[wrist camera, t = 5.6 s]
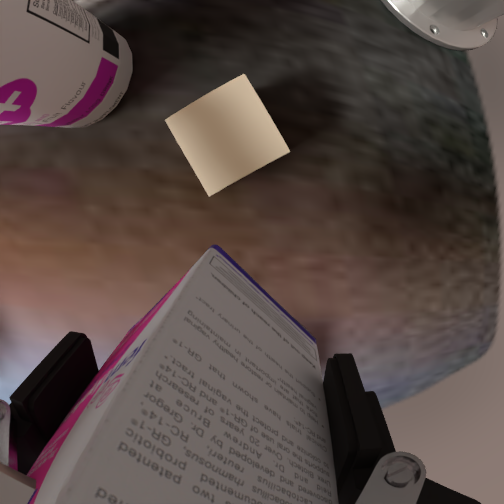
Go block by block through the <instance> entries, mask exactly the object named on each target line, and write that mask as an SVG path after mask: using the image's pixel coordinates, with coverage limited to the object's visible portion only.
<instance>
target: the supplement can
mask: <svg viewBox="0 0 504 504" xmlns="http://www.w3.org/2000/svg"><path fill="white" fill-rule="evenodd" d="M132 71H133V67H132V52H131V50H130V48H129V46H128V43H127V41H126V39H124V38H123V37H122V36H121V35H119V34H118V33H117V32H115V31H114V30H113V29H111V28H110V27H109V26H107V25H106V24H105V23H103V22H102V21H100V20H99V19H98V18H96V17H95V16H93V15H92V14H91V13H89V12H88V11H86V10H85V9H83V8H82V7H80V6H79V5H78V4H76V3H75V2H73V1H72V0H0V124H8V125H35V126H52V127H66V128H77V127H87V126H89V125H91V124H94V123H96V122H98V121H100V120H102V119H103V118H104V117H105V116H107V115H108V114H109V113H110V112H111V111H112V110H113V109H114V108H115V107H116V106H117V105H118V103H119V102H120V100H121V98H122V97H123V95H124V94H125V92H126V90H127V88H128V85H129V81H130V78H131V75H132Z"/></svg>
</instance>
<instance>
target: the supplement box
mask: <svg viewBox="0 0 504 504" xmlns="http://www.w3.org/2000/svg"><path fill="white" fill-rule="evenodd" d="M26 476H29V477H31V478H33V479H35V480H36V489H35V491H34V493H33V495H32V496H31V498H30V500H29V501H28V503H27V504H339V503H338V495H337V485H336V475H335V468H334V460H333V451H332V442H331V435H330V428H329V420H328V413H327V406H326V400H325V394H324V388H323V380H322V374H321V367H320V361H319V355H318V349H317V345H316V339H315V338H314V337H313V336H312V335H311V334H310V333H309V331H308V330H306V329H305V328H304V327H303V326H302V325H301V324H300V323H299V322H298V321H297V320H296V319H295V318H293V317H292V316H291V315H290V314H289V313H288V312H287V311H286V310H285V309H284V308H283V307H282V306H281V305H279V304H278V303H277V302H276V301H275V300H274V299H273V298H272V297H271V296H270V295H269V294H268V293H267V292H266V291H265V290H264V289H263V288H262V287H261V286H260V285H259V284H258V283H257V282H256V281H255V280H254V279H253V278H252V277H251V276H250V275H249V274H248V273H247V272H246V271H245V270H244V269H242V268H241V267H240V266H239V265H238V264H237V263H236V262H235V261H234V260H233V259H232V258H231V257H230V256H229V255H228V254H227V253H226V252H225V251H224V250H222V248H220V247H219V246H218V245H212V246H211V247H210V248H209V249H208V250H207V251H206V252H205V253H204V254H203V255H202V257H201V258H200V259H199V260H198V261H197V262H196V263H195V264H194V266H193V267H192V268H191V269H190V270H189V271H188V272H187V273H186V274H185V275H184V276H183V277H182V278H181V279H180V280H179V281H178V282H177V283H176V284H175V285H174V286H173V288H172V289H171V290H170V291H169V292H168V293H167V294H166V295H165V296H164V297H163V298H162V299H161V300H160V301H159V302H158V303H157V304H156V305H155V306H154V307H153V308H152V309H151V310H150V311H149V312H148V313H147V314H146V315H145V316H144V317H143V318H142V319H141V320H140V321H138V322H137V323H136V324H135V325H134V326H133V327H132V328H131V329H130V330H129V332H128V333H127V334H126V336H125V337H124V338H123V340H122V341H121V342H120V344H119V345H118V346H117V347H116V349H115V350H114V351H113V353H112V354H111V355H110V357H109V358H108V359H107V361H106V362H105V363H104V365H103V366H102V367H101V369H100V370H99V372H98V373H97V374H96V376H95V377H94V378H93V380H92V381H91V382H90V384H89V385H88V386H87V388H86V389H85V391H84V392H83V393H82V395H81V396H80V398H79V399H78V400H77V402H76V403H75V405H74V406H73V407H72V409H71V410H70V412H69V413H68V414H67V416H66V417H65V419H64V420H63V422H62V423H61V424H60V426H59V428H58V429H57V430H56V432H55V433H54V435H53V436H52V438H51V439H50V441H49V442H48V443H47V445H46V446H45V448H44V449H43V451H42V452H41V454H40V455H39V457H38V458H37V460H36V461H35V463H34V465H33V466H32V468H31V469H30V471H29V472H28V474H27V475H26Z"/></svg>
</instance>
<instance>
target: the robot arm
mask: <svg viewBox="0 0 504 504" xmlns="http://www.w3.org/2000/svg"><path fill="white" fill-rule="evenodd" d="M381 1H382V2H383V3H384V5H385V6H386V7H387V8H388V10H389V11H391V12H392V13H393V14H394V15H395V16H396V17H397V18H398V19H399V20H400V21H401V22H402V23H403V24H405V25H406V26H407V27H408V28H410V29H411V30H412V31H414V32H415V33H417V34H418V35H420V36H421V37H423V38H425V39H426V40H428V41H431V42H433V43H435V44H437V45H439V46H442V47H445V48H448V49H453V50H460V51H464V50H473V49H475V48H478V47H481V46H483V45H484V44H486V43H488V42H489V41H490V40H491V38H492V37H493V36H494V34H495V31H496V29H497V20H498V19H497V17H499V16H501V15H503V14H504V0H381ZM98 372H99V371H98V367H97V364H96V360H95V356H94V352H93V348H92V345H91V341H90V339H88V338H87V336H86V335H85V334H84V333H78V332H69V333H68V334H67V335H66V336H65V337H64V338H63V339H62V340H61V341H60V342H59V343H58V344H57V345H56V346H55V347H54V349H53V350H52V351H51V352H50V353H49V354H48V355H47V356H46V357H45V358H44V359H43V360H42V361H41V363H40V364H39V365H38V366H37V367H36V368H35V369H34V370H33V371H32V372H31V374H30V375H29V376H28V377H27V378H26V379H25V380H24V381H23V383H22V384H21V385H20V386H19V387H18V388H17V389H16V391H15V392H14V393H13V394H12V395H11V396H10V397H9V398H10V400H11V404H10V405H8V403H7V402H5V401H4V400H1V399H0V504H27V503H28V501H29V500H30V498H31V496H32V495H33V493H34V491H35V489H36V480H35V479H33V478H31V477H29V476H26V475H27V474H28V472H29V471H30V469H31V468H32V466H33V465H34V463H35V461H36V460H37V458H38V457H39V455H40V454H41V452H42V451H43V449H44V448H45V446H46V445H47V443H48V442H49V441H50V439H51V438H52V436H53V435H54V433H55V432H56V430H57V429H58V428H59V426H60V424H61V423H62V422H63V420H64V419H65V417H66V416H67V414H68V413H69V412H70V410H71V409H72V407H73V406H74V405H75V403H76V402H77V400H78V399H79V398H80V396H81V395H82V393H83V392H84V391H85V389H86V388H87V386H88V385H89V384H90V382H91V381H92V380H93V378H94V377H95V376H96V374H97V373H98ZM323 388H324V394H325V400H326V406H327V413H328V420H329V428H330V435H331V442H332V451H333V460H334V468H335V475H336V485H337V495H338V503H339V504H481V503H480V502H478V501H476V500H475V499H472V498H470V497H467V496H465V495H463V494H460V493H458V492H456V491H453V490H451V489H449V488H447V487H444V486H442V485H440V484H438V483H435V482H434V481H432V480H429V479H427V478H425V477H426V469H425V466H424V464H423V462H422V461H421V460H420V459H419V458H418V457H416V456H415V455H413V454H410V453H407V452H396V451H395V448H394V445H393V442H392V439H391V436H390V433H389V430H388V427H387V424H386V421H385V418H384V415H383V412H382V410H381V407H380V404H379V401H378V398H377V396H376V394H375V392H373V391H368V392H365V390H364V387H363V384H362V381H361V378H360V375H359V372H358V369H357V366H356V363H355V361H354V358H353V355H352V354H334V356H333V358H328V360H327V365H326V370H325V376H324V381H323Z"/></svg>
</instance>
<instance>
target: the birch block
mask: <svg viewBox="0 0 504 504" xmlns="http://www.w3.org/2000/svg"><path fill="white" fill-rule="evenodd" d="M165 121H166V123H167V125H168V127H169V128H170V130H171V132H172V133H173V135H174V137H175V139H176V140H177V142H178V144H179V146H180V147H181V149H182V151H183V153H184V154H185V156H186V158H187V159H188V161H189V163H190V165H191V166H192V168H193V170H194V171H195V173H196V175H197V177H198V178H199V180H200V182H201V184H202V185H203V187H204V189H205V190H206V192H207V194H208V196H211V195H213V194H214V193H216V192H218V191H220V190H221V189H223V188H225V187H227V186H228V185H230V184H232V183H234V182H235V181H237V180H239V179H241V178H243V177H244V176H246V175H248V174H250V173H252V172H253V171H255V170H257V169H259V168H261V167H263V166H264V165H266V164H268V163H270V162H272V161H274V160H276V159H277V158H279V157H281V156H283V155H285V154H287V153H289V152H290V150H289V148H288V146H287V145H286V143H285V141H284V139H283V138H282V136H281V134H280V132H279V131H278V129H277V127H276V125H275V124H274V122H273V120H272V119H271V117H270V115H269V113H268V112H267V110H266V108H265V107H264V105H263V103H262V102H261V100H260V98H259V97H258V95H257V93H256V92H255V90H254V89H253V87H252V85H251V84H250V82H249V80H248V79H247V77H246V76H245V74H243V75H241V76H239V77H237V78H235V79H233V80H231V81H229V82H228V83H226V84H224V85H222V86H220V87H219V88H217V89H215V90H213V91H212V92H210V93H208V94H206V95H205V96H203V97H201V98H200V99H198V100H196V101H195V102H193V103H191V104H190V105H188V106H186V107H185V108H183V109H181V110H180V111H178V112H177V113H175V114H174V115H172V116H170V117H169V118H167V119H166V120H165Z"/></svg>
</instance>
